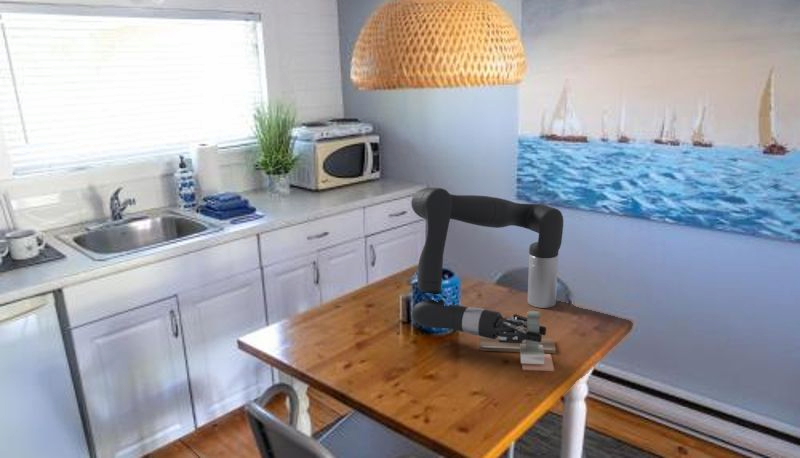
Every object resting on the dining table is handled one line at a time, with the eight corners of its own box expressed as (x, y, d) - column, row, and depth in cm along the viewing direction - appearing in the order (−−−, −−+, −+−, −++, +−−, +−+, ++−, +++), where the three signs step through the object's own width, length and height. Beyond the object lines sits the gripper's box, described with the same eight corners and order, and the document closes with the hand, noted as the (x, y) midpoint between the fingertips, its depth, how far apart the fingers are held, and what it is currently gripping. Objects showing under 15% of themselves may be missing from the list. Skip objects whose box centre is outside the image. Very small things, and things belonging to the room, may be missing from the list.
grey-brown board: (479, 338, 167) (479, 335, 166) (552, 341, 164) (552, 338, 163) (479, 350, 160) (479, 347, 160) (555, 353, 157) (555, 350, 157)
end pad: (520, 354, 157) (520, 353, 157) (550, 355, 156) (550, 354, 156) (522, 369, 149) (522, 368, 149) (553, 371, 148) (554, 369, 148)
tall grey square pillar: (519, 352, 156) (521, 308, 152) (542, 353, 155) (544, 309, 151) (520, 363, 150) (522, 318, 146) (544, 364, 149) (546, 319, 145)
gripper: (472, 320, 150) (537, 333, 142) (490, 300, 162) (551, 311, 154) (472, 346, 152) (535, 359, 144) (490, 324, 164) (549, 336, 156)
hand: (543, 334), depth 149 cm, fingers closed on tall grey square pillar, 3 cm apart
